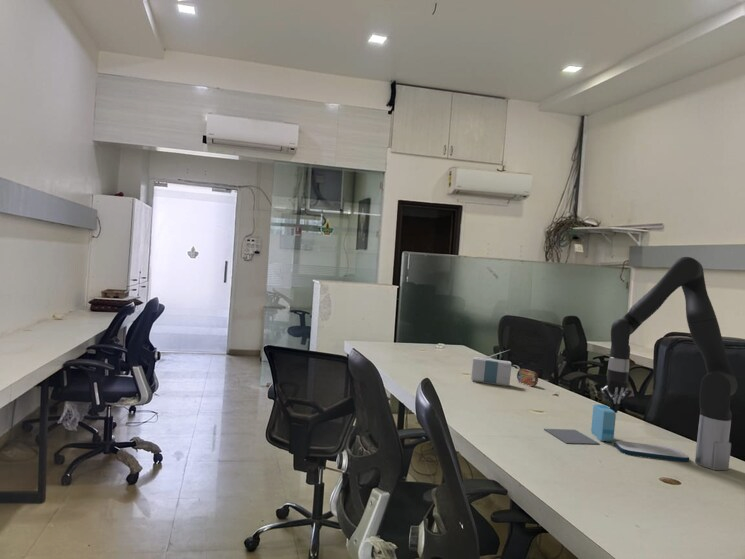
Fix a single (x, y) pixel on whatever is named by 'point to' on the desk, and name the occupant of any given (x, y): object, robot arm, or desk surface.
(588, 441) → the mat
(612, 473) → the desk surface
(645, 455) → the white blue flat slab
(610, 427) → the data package
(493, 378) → the stereo radio cassette player
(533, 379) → the tin
